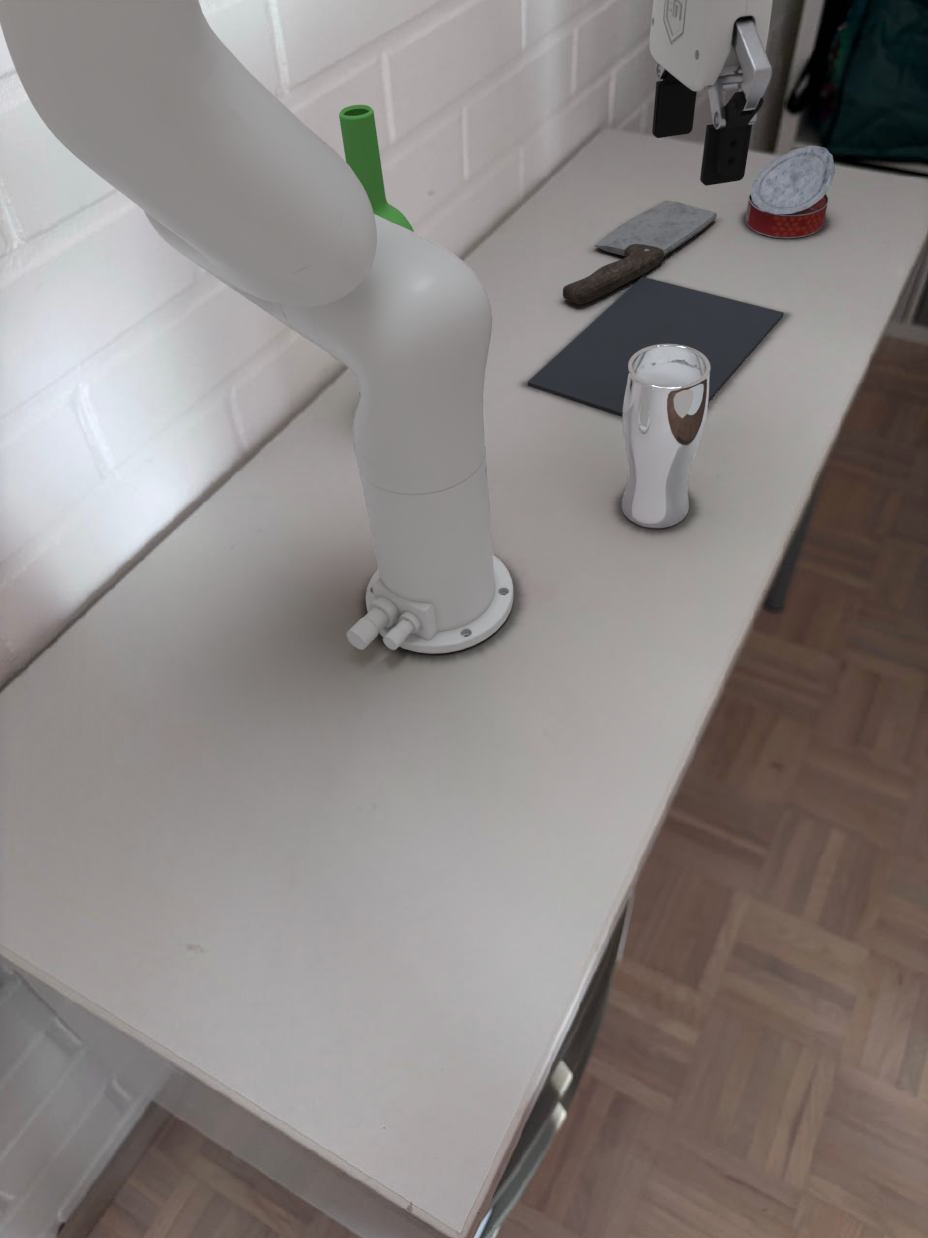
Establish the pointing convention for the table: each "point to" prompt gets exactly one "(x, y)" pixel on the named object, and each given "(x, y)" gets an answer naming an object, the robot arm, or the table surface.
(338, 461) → the table surface
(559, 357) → the mat
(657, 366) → the beer glass
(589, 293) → the cleaver
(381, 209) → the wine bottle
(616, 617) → the table surface
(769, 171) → the canned food
